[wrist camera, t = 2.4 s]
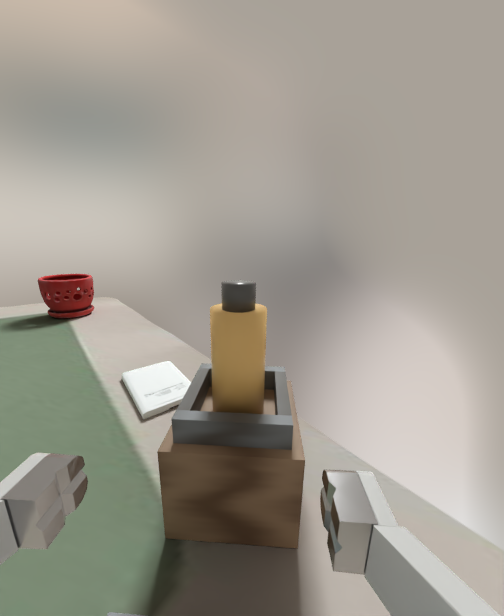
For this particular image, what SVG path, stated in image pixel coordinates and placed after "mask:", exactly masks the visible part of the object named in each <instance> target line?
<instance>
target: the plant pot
mask: <svg viewBox="0 0 504 616" xmlns="http://www.w3.org/2000/svg"><path fill="white" fill-rule="evenodd" d="M38 284H39V288H40V292H41V295H42V297H43V300H44V302H45V303H46V305H47V306H48V307H49V308H50V310H48V314H49V315H50V316H52V317H55V318H75V317H80V316H84V315H87V314H89V313H91V312H92V311H93V309H94V306H93V305H91V303H92V300H93V295H94V290H93V279H92V276H91V275H86V274H61V275H52V276H44V277H41V278H39V279H38ZM78 287H79V288H80V290H77V288H78ZM48 294H49V296H48Z"/></svg>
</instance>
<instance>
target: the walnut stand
mask: <svg viewBox="0 0 504 616" xmlns="http://www.w3.org/2000/svg"><path fill="white" fill-rule="evenodd" d="M158 462H159V473H160V484H161V495H162V506H163V517H164V528H165V538H167V539H180V540H193V541H206V542H219V543H232V544H245V545H258V546H271V547H284V548H297V549H298V537H299V526H300V514H301V502H302V490H303V478H304V467H305V457H304V452H303V446H302V441H301V435H300V430H299V424H298V419H297V413H296V408H295V402H294V398H293V391H292V386H291V381H287V380H286V374H285V367H275V366H265V382H264V411H263V414H249V413H229V412H213V406H212V365H211V364H203V363H202V364H201V366H200V368H199V370H198V371H197V373H196V375H195V377H194V379H193V381H192V382H191V384H190V386H189V388H188V390H187V392H186V393H185V395H184V397H183V399H182V401H181V403H180V404H179V406H178V408H177V410H176V412H175V414H174V415H173V417H172V425H171V427H170V429H169V431H168V433H167V434H166V436H165V438H164V440H163V442H162V444H161V446H160V448H159V450H158Z"/></svg>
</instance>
